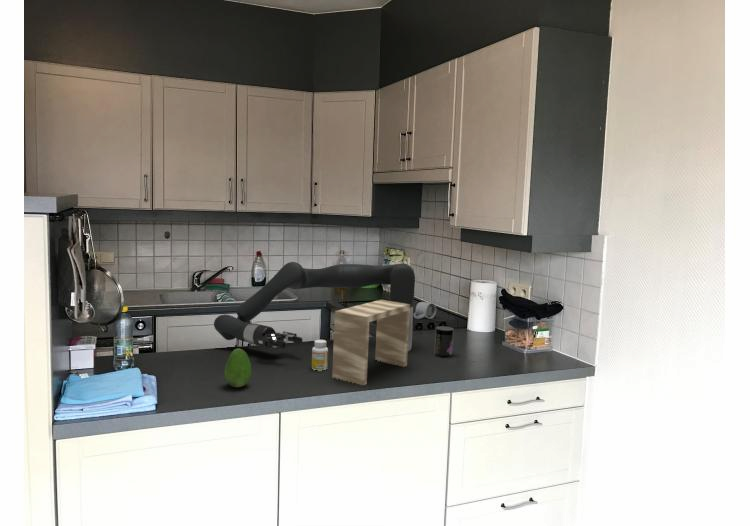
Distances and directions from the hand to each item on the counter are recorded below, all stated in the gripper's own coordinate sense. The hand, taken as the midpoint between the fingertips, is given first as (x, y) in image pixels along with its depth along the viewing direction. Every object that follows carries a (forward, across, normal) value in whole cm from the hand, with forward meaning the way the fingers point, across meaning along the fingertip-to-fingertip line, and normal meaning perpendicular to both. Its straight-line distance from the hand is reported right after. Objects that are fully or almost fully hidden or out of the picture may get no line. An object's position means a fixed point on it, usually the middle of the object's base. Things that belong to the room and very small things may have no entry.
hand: (293, 343), depth 206 cm
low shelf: (+26, +9, +7) cm, 29 cm away
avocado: (+4, -30, +7) cm, 31 cm away
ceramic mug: (-1, +99, +7) cm, 100 cm away
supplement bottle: (+12, 0, +7) cm, 13 cm away
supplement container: (+36, +44, +6) cm, 58 cm away
